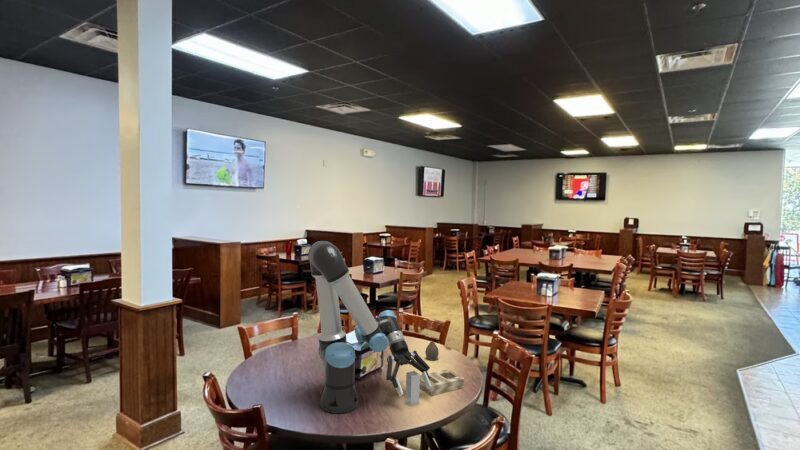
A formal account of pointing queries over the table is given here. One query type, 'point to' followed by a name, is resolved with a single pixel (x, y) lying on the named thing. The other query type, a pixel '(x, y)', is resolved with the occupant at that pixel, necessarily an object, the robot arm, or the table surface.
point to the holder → (442, 382)
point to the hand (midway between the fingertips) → (415, 391)
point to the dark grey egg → (431, 351)
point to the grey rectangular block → (412, 387)
